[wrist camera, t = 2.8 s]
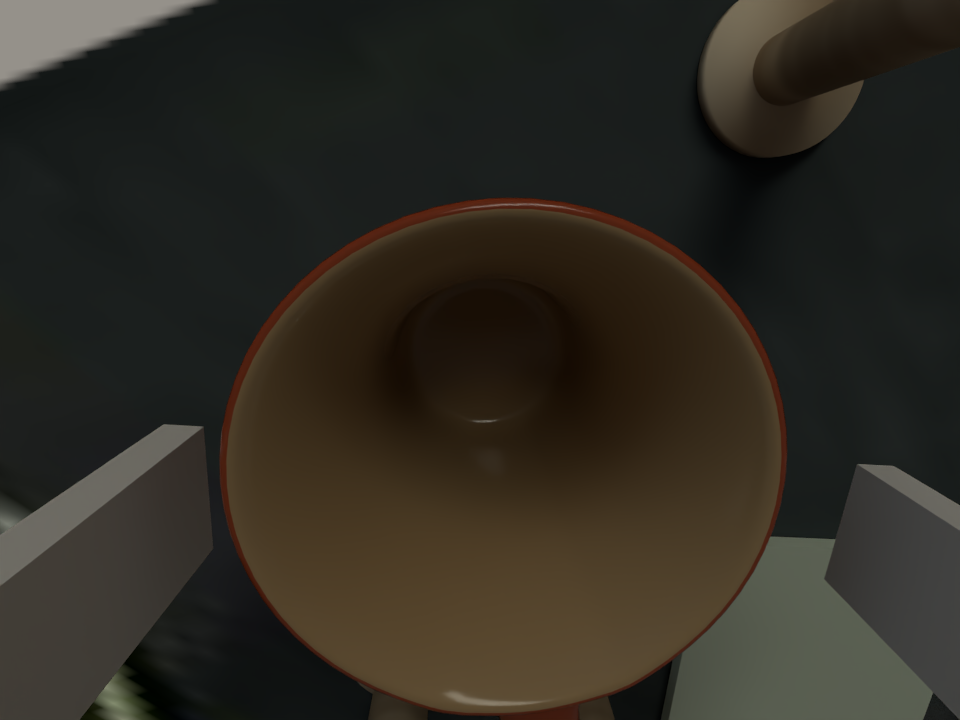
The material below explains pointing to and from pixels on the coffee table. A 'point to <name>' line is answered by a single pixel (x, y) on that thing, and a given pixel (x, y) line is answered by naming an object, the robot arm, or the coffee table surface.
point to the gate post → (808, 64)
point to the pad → (792, 652)
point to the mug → (503, 457)
